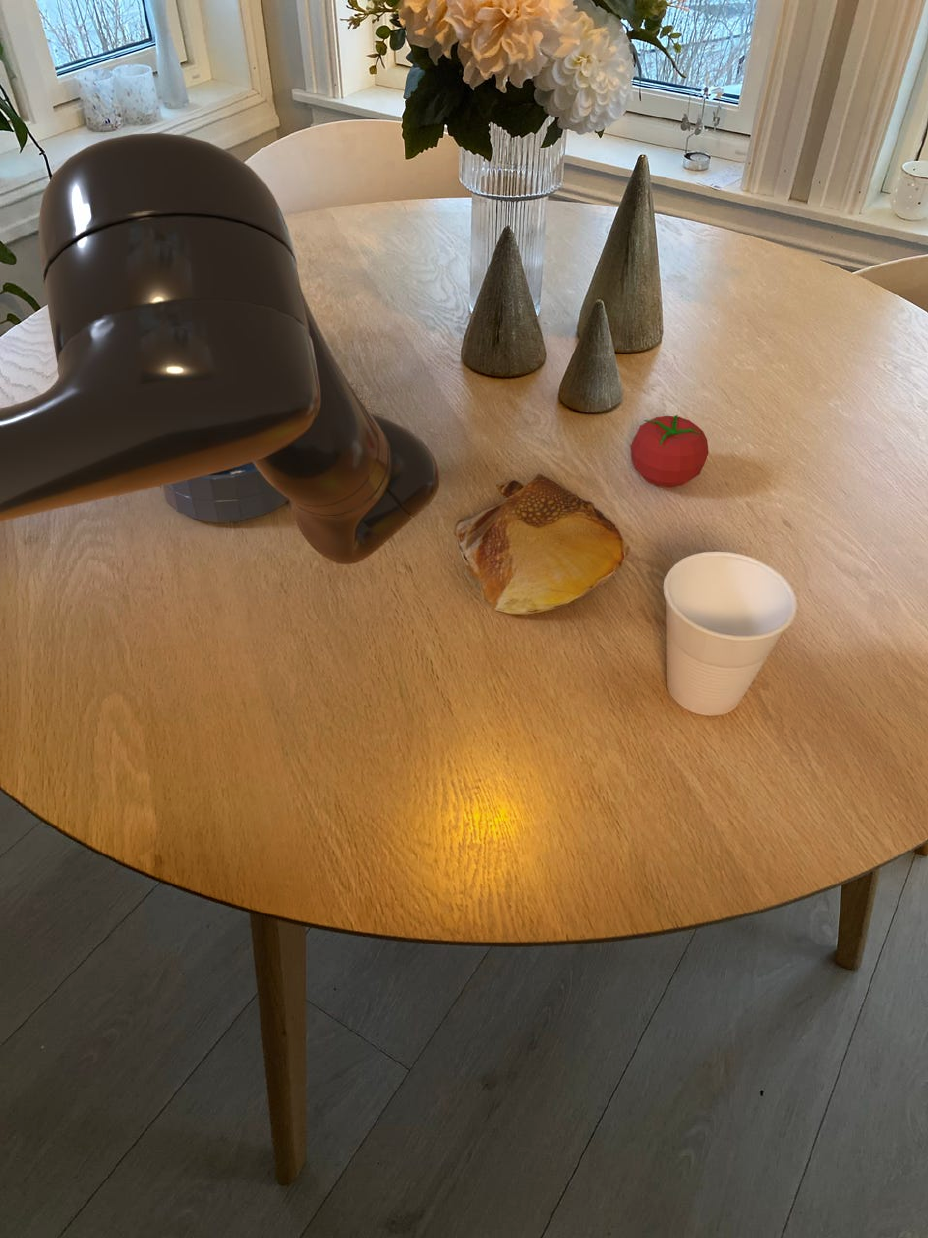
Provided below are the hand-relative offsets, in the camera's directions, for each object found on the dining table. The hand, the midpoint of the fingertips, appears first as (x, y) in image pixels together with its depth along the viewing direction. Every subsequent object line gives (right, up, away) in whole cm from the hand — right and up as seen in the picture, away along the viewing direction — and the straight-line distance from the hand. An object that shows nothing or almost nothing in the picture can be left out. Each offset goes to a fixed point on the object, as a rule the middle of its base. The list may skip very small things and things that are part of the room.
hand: (207, 303), depth 88 cm
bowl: (0, -15, +11) cm, 19 cm away
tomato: (+45, -14, +14) cm, 49 cm away
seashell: (+30, -24, +3) cm, 39 cm away
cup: (+44, -35, -8) cm, 57 cm away
